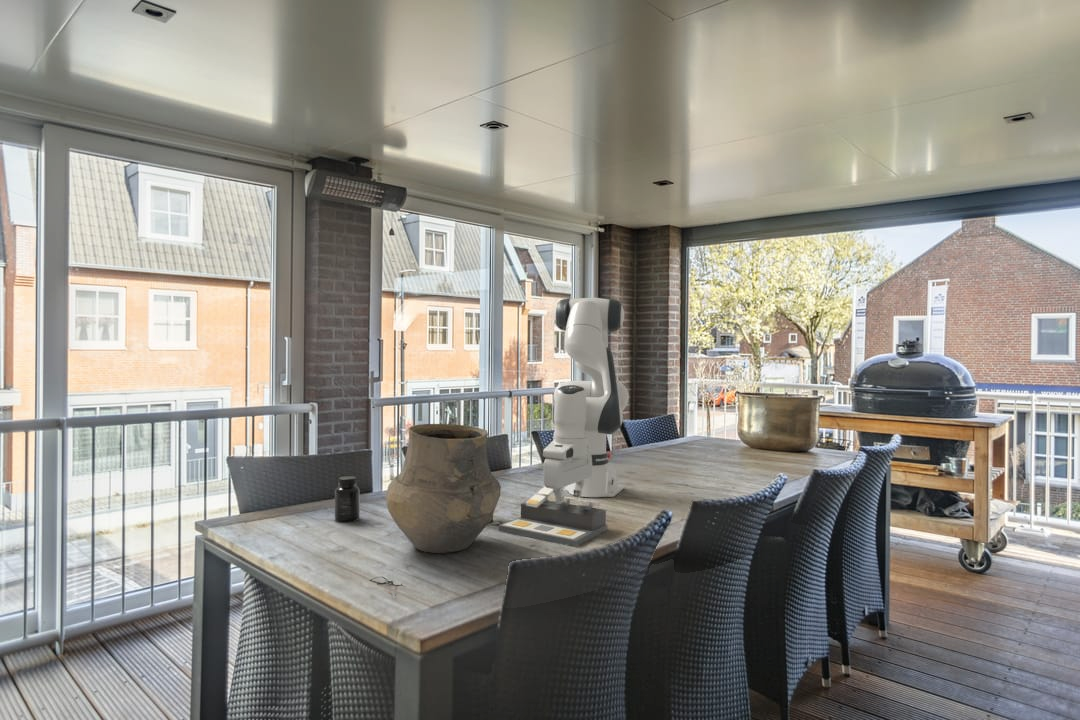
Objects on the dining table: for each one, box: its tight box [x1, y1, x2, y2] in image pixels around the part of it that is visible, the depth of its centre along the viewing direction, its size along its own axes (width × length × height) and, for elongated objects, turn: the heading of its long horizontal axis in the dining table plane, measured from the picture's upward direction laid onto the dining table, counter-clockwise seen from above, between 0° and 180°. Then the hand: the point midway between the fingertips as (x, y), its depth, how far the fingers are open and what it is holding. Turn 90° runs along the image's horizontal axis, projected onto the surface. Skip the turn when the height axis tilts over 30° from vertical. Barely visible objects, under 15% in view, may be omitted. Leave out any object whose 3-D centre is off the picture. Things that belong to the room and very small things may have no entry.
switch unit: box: [498, 500, 608, 548], centre depth 175 cm, size 18×24×6 cm
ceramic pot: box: [385, 423, 502, 554], centre depth 159 cm, size 28×28×30 cm
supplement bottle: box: [334, 475, 361, 523], centre depth 182 cm, size 7×7×12 cm
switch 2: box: [548, 495, 579, 507], centre depth 179 cm, size 11×4×2 cm, turn 148°
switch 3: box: [570, 499, 601, 510], centre depth 175 cm, size 11×4×2 cm, turn 148°
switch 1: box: [525, 485, 554, 508], centre depth 182 cm, size 11×4×2 cm, turn 148°
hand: (568, 499), depth 167 cm, fingers open, 8 cm apart
